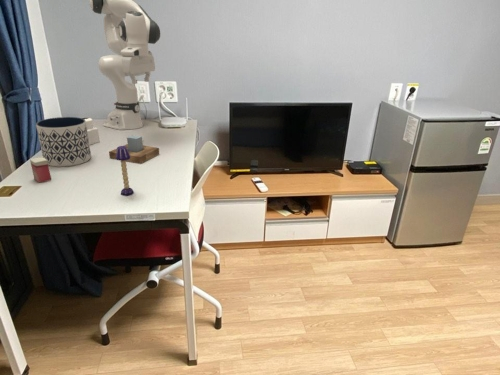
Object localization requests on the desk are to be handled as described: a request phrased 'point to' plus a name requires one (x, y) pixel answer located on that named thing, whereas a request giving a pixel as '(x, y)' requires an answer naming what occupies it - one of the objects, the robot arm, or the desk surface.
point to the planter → (64, 141)
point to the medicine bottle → (92, 131)
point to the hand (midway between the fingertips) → (141, 82)
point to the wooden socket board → (138, 154)
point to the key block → (135, 143)
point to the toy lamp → (124, 168)
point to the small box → (40, 169)
